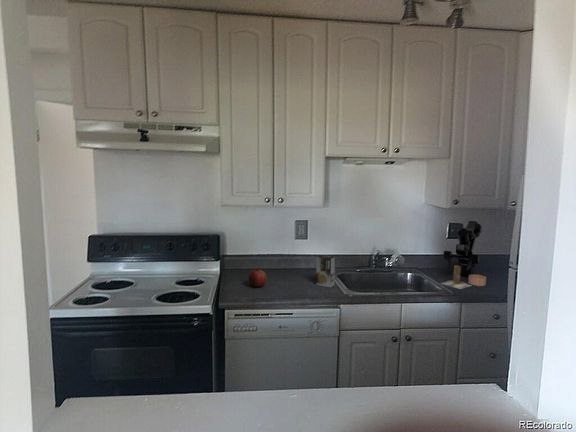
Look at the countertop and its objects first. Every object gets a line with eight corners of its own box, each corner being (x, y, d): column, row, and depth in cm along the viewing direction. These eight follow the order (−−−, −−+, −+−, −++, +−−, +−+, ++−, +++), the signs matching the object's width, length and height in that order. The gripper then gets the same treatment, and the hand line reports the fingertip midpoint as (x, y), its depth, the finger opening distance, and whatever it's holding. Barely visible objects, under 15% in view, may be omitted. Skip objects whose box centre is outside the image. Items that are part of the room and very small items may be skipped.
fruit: (249, 283, 215) (249, 265, 214) (267, 283, 214) (267, 266, 213) (246, 289, 204) (246, 270, 203) (265, 289, 204) (265, 271, 202)
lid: (443, 284, 219) (444, 266, 217) (447, 280, 228) (449, 262, 227) (465, 288, 212) (466, 269, 211) (469, 284, 222) (470, 265, 220)
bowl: (465, 283, 225) (465, 275, 224) (473, 281, 230) (474, 273, 229) (480, 287, 217) (480, 279, 217) (488, 284, 222) (489, 277, 222)
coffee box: (335, 284, 215) (336, 256, 213) (330, 287, 210) (331, 258, 208) (320, 282, 220) (321, 254, 218) (315, 285, 214) (316, 256, 212)
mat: (440, 284, 222) (440, 283, 222) (452, 281, 229) (452, 280, 228) (460, 289, 212) (460, 288, 212) (471, 286, 219) (472, 285, 219)
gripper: (445, 237, 228) (439, 258, 221) (479, 240, 218) (474, 263, 210) (447, 248, 236) (441, 269, 228) (481, 252, 225) (476, 274, 217)
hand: (458, 268), depth 221 cm, fingers open, 9 cm apart
